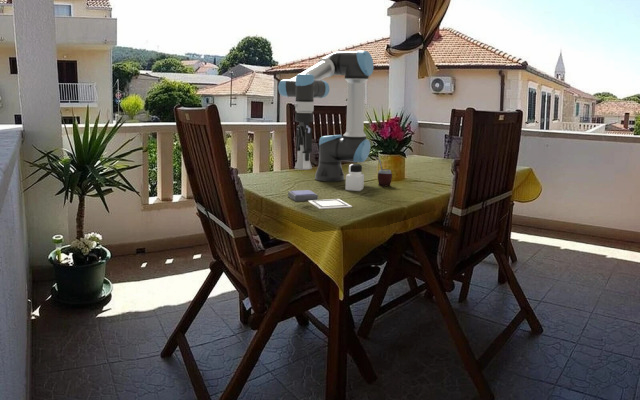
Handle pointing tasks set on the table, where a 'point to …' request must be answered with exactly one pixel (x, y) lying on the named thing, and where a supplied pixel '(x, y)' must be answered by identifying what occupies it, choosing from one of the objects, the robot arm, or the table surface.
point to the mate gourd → (384, 176)
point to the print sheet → (329, 204)
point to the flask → (301, 160)
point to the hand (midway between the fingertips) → (303, 167)
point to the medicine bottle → (355, 178)
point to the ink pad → (302, 195)
